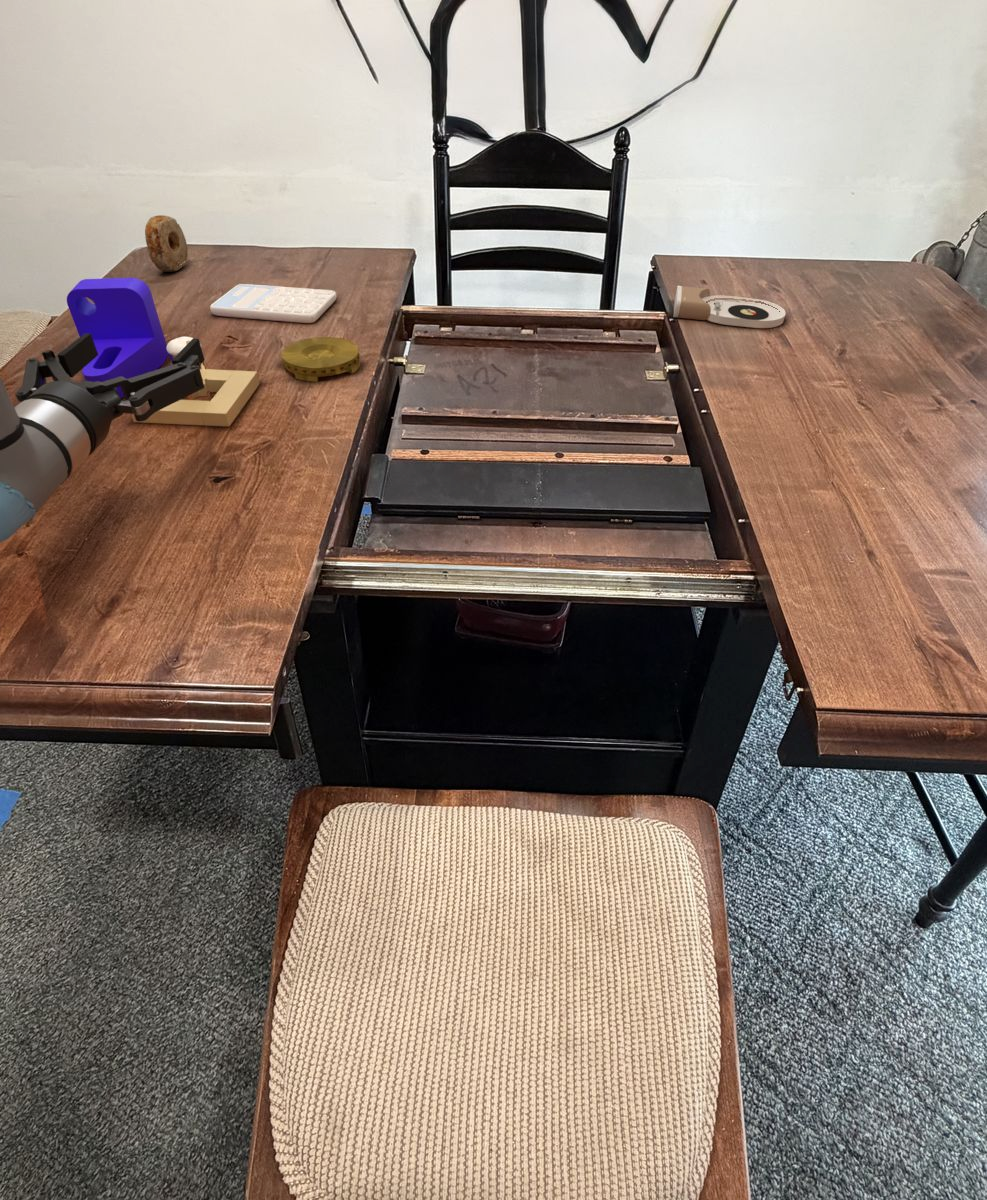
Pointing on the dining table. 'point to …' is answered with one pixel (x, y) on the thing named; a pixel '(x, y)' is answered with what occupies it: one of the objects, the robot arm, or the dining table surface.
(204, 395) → the milkshake
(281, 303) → the calculator
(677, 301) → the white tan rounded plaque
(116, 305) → the bracket
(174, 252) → the stone disc
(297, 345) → the olive flat round disc
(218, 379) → the square frame
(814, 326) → the dining table surface
